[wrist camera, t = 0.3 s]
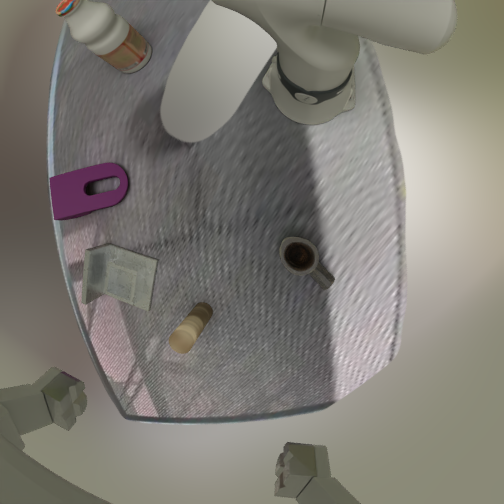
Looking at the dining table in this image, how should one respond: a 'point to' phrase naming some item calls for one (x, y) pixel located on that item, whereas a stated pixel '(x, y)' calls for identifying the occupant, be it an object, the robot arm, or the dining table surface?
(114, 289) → the cup bracket
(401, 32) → the robot arm
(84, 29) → the fruit juice
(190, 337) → the tan wooden cylinder
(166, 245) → the dining table surface
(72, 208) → the mounting bracket
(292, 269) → the pipe
